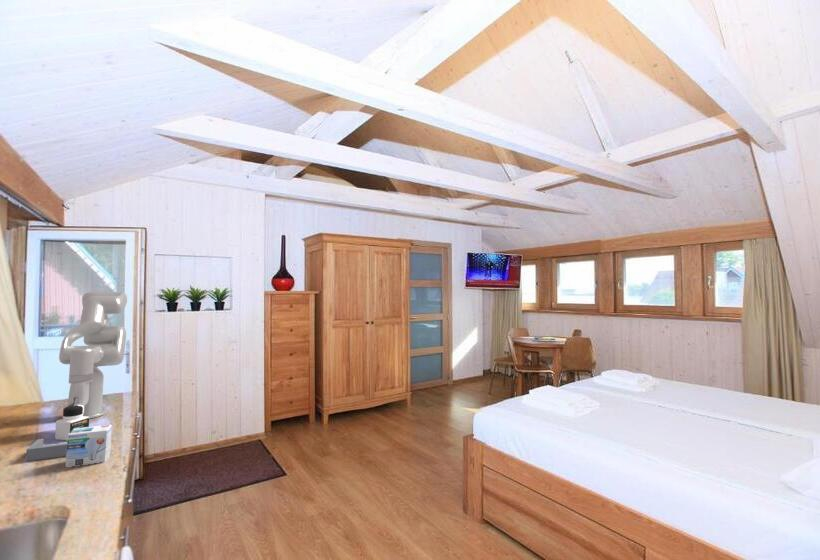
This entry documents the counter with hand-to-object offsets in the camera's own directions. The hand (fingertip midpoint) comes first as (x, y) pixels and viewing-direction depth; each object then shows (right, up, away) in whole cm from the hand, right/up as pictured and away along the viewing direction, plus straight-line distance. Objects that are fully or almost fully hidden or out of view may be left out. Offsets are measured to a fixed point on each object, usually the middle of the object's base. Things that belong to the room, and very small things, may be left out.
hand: (78, 423), depth 155 cm
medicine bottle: (+4, -3, -7) cm, 8 cm away
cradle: (+11, -2, -21) cm, 24 cm away
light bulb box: (+27, -3, -27) cm, 38 cm away
